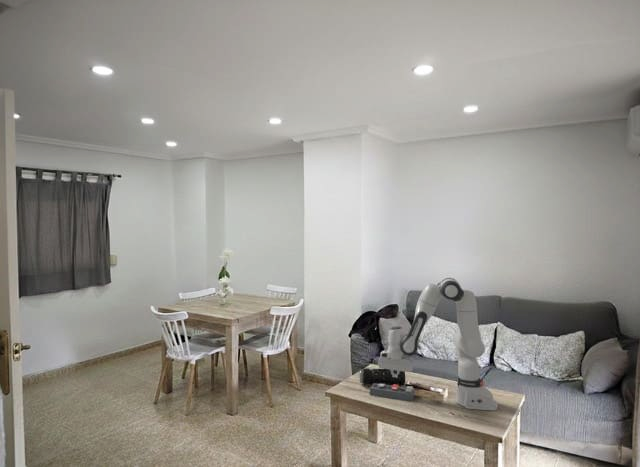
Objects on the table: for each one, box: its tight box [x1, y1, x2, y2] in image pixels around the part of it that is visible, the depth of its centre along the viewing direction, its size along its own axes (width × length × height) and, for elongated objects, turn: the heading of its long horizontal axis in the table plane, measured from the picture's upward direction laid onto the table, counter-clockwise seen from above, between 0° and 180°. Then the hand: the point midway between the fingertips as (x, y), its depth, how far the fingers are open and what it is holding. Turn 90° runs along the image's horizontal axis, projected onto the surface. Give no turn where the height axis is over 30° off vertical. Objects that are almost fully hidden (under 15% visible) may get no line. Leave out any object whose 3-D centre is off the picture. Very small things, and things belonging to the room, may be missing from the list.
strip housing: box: [369, 383, 416, 402], centre depth 245 cm, size 25×9×4 cm, turn 68°
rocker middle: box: [391, 384, 400, 390], centre depth 245 cm, size 3×5×1 cm, turn 158°
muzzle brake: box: [358, 367, 406, 386], centre depth 262 cm, size 10×28×10 cm, turn 89°
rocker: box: [406, 385, 414, 392], centre depth 242 cm, size 3×5×1 cm, turn 158°
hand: (395, 377), depth 246 cm, fingers closed
